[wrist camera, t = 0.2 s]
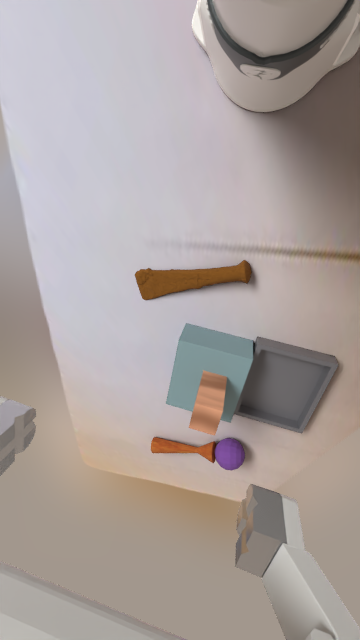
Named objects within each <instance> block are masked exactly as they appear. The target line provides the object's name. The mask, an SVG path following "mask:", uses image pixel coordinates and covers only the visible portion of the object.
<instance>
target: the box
mask: <svg viewBox="0 0 360 640" xmlns="http://www.w3.org/2000/svg"><path fill="white" fill-rule="evenodd" d="M337 367H338V363H337V360H336V358H335V356H331V355H327V354H324V353H320V352H316V351H312V350H308V349H304V348H300V347H296V346H292V345H289V344H285V343H281V342H277V341H273V340H269V339H265V338H261V337H257V339H256V342H255V345H254V348H253V361H252V364H251V367H250V370H249V372H248V375H247V378H246V381H245V384H244V386H243V389H242V392H241V395H240V397H239V400H238V403H237V406H236V409H235V411H234V414H236V415H240V416H243V417H247V418H250V419H254V420H257V421H260V422H264V423H267V424H271V425H274V426H278V427H281V428H285V429H288V430H292V431H295V432H298V433H302V432H303V430H304V429H305V427H306V425H307V423H308V421H309V419H310V417H311V415H312V414H313V412H314V410H315V408H316V406H317V404H318V402H319V400H320V399H321V397H322V395H323V393H324V391H325V389H326V387H327V385H328V384H329V382H330V380H331V378H332V376H333V374H334V372H335V370H336V369H337Z"/></svg>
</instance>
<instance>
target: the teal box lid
mask: <svg viewBox="0 0 360 640" xmlns="http://www.w3.org/2000/svg"><path fill="white" fill-rule="evenodd" d="M252 361H253V340H249V339H245V338H241V337H237V336H233V335H229V334H226V333H222V332H218V331H214V330H210V329H206V328H202V327H199V326H195V325H191V324H187V323H186V325H185V327H184V329H183V332H182V334H181V336H180V339H179V342H178V347H177V352H176V357H175V362H174V367H173V372H172V377H171V382H170V387H169V392H168V396H167V401H166V404H168V405H172V406H175V407H179V408H182V409H185V410H189V411H192V412H193V409H194V405H195V401H196V397H197V393H198V389H199V385H200V381H201V377H202V374H203V370H204V371H208V372H211V373H215V374H219V375H222V376H226V377H227V381H226V390H225V398H224V406H223V412H222V415H221V419H220V420H223V421H226V422H230V423H231V420H232V417H233V414H234V411H235V409H236V406H237V403H238V400H239V397H240V395H241V392H242V389H243V386H244V384H245V381H246V378H247V375H248V372H249V370H250V367H251V364H252Z"/></svg>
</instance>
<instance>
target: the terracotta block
mask: <svg viewBox="0 0 360 640" xmlns="http://www.w3.org/2000/svg"><path fill="white" fill-rule="evenodd" d="M226 381H227V377H226V376H222V375H219V374H215V373H211V372H208V371H204V370H203V374H202V377H201V381H200V385H199V389H198V393H197V397H196V401H195V405H194V409H193V413H192V417H191V421H190V425H189V428H191V429H195V430H198V431H201V432H205V433H208V434H211V435H215V434H216V431H217V428H218V425H219V422H220V419H221V415H222V412H223V406H224V398H225V390H226Z"/></svg>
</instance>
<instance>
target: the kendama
mask: <svg viewBox="0 0 360 640" xmlns="http://www.w3.org/2000/svg"><path fill="white" fill-rule="evenodd" d="M151 451H152V453H199V454H200V455H202V456H203V457H205V458H206V459H208V460H209V461H211V462H212V463H214V462H215V459H216V461H217V462H218V463H219V465H220V466H221V467H222V468H224V469H226V470H234V469H237V468H239V467H240V466H241V465H242V463H243V461H244V458H245V452H244V450H243V447H242V445H241V444H240V443H239V442H238V441H237V440H235V439H231V438H226V439H223V440H221V441H220V442H219V443H218V444H217V446H216V442H215V441H214V442H211V443H209V444H206V445H203V446H201V447H194V446H190V445H186V444H182V443H178V442H173V441H169V440H165V439H161V438H157V437H154V438H153V440H152V443H151Z"/></svg>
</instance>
